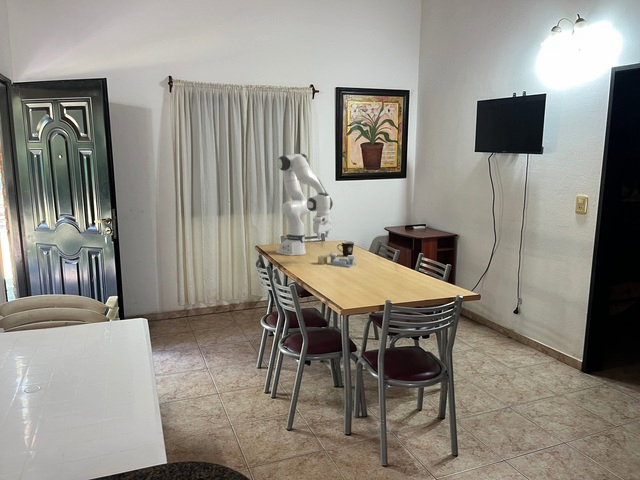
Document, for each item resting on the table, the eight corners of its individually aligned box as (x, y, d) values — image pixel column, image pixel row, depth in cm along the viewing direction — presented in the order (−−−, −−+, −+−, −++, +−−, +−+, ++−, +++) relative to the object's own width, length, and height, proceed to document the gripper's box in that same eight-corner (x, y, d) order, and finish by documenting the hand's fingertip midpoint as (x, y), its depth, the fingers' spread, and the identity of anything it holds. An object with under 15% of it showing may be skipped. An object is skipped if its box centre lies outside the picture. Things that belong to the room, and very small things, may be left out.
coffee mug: (353, 254, 361) (354, 241, 360) (353, 257, 353) (353, 243, 351) (337, 254, 363) (338, 240, 361) (337, 256, 354) (337, 243, 352)
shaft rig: (326, 264, 330) (326, 254, 329) (333, 261, 340) (334, 251, 338) (350, 267, 321) (351, 257, 320) (357, 264, 331) (358, 254, 330)
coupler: (317, 263, 331) (318, 256, 330) (321, 262, 335) (321, 255, 334) (323, 264, 329) (323, 257, 328) (327, 263, 333) (327, 256, 332)
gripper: (326, 215, 337) (326, 235, 339) (311, 218, 319) (311, 240, 322) (334, 216, 334) (334, 236, 336) (320, 219, 316) (319, 241, 319)
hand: (322, 238), depth 329 cm, fingers open, 8 cm apart
